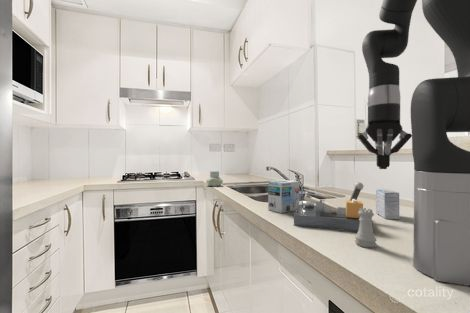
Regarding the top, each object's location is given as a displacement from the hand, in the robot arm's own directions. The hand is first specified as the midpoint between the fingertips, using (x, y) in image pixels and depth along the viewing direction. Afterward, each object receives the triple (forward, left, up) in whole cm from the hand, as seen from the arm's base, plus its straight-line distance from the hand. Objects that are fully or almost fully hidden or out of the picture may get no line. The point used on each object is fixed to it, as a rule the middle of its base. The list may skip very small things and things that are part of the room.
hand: (383, 168), depth 66 cm
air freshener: (+73, +84, -17) cm, 113 cm away
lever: (+10, +7, -13) cm, 18 cm away
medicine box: (+19, -5, -17) cm, 26 cm away
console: (+4, +13, -17) cm, 22 cm away
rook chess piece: (-14, +6, -17) cm, 23 cm away
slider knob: (0, +7, -13) cm, 15 cm away
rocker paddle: (+5, +16, -11) cm, 20 cm away
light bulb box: (+16, +29, -17) cm, 37 cm away
